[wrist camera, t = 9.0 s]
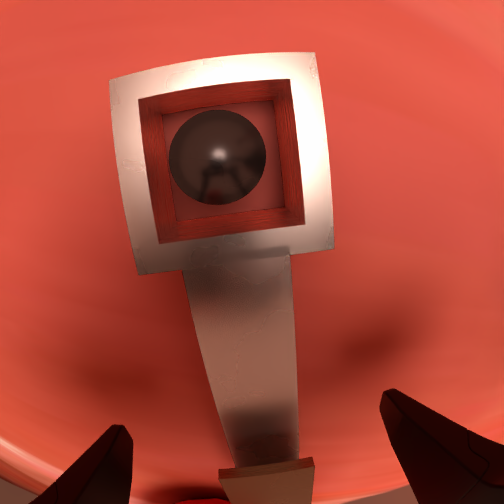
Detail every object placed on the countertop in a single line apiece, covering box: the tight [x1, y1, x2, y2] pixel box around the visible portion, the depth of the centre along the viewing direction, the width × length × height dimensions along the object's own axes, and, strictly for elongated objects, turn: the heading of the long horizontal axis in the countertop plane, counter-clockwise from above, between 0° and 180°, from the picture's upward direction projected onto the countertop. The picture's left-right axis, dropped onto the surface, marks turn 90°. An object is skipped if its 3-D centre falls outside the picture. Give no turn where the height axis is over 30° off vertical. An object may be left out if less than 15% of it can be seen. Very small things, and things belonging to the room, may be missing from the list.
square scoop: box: [109, 52, 334, 468], centre depth 10 cm, size 16×6×3 cm, turn 7°
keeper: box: [219, 457, 315, 504], centre depth 12 cm, size 7×4×5 cm, turn 7°
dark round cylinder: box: [169, 110, 266, 205], centre depth 8 cm, size 2×2×4 cm
